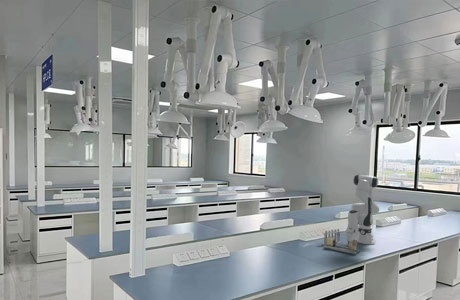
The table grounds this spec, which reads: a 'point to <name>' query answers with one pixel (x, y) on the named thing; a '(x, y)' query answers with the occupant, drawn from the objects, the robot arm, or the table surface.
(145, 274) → the table surface
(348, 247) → the wooden block
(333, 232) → the test tube rack
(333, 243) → the rail
